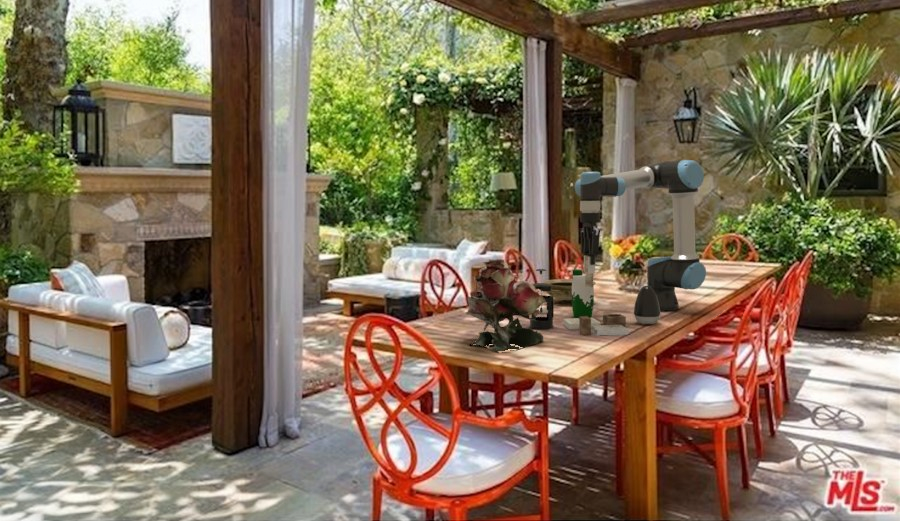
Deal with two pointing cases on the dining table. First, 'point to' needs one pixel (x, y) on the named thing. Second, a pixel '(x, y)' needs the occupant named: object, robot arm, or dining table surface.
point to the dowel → (588, 276)
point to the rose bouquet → (504, 307)
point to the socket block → (614, 319)
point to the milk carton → (581, 296)
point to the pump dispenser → (647, 306)
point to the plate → (609, 330)
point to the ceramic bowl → (561, 289)
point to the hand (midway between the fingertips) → (589, 272)
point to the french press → (543, 321)
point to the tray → (577, 323)
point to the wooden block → (585, 325)
